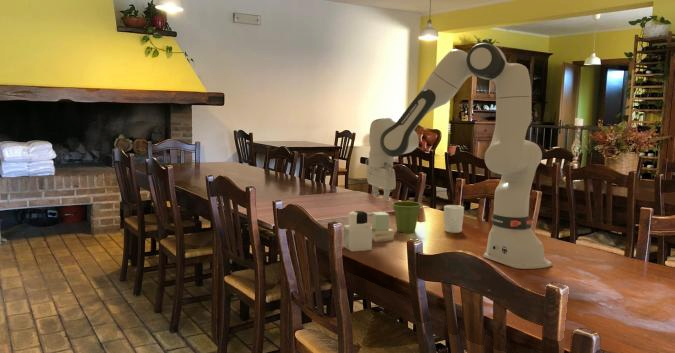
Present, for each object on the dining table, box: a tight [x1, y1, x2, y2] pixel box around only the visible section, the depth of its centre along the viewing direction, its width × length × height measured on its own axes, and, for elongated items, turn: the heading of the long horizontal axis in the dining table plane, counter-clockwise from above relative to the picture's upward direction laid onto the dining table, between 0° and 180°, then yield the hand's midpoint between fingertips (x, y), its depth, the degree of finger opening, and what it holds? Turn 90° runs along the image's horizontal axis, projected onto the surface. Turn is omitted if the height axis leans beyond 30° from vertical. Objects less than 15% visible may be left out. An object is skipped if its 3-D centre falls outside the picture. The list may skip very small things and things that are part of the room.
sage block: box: [371, 211, 390, 231], centre depth 201 cm, size 5×5×6 cm
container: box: [343, 210, 373, 252], centre depth 187 cm, size 8×8×13 cm
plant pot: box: [391, 200, 422, 234], centre depth 214 cm, size 12×12×11 cm
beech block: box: [369, 226, 395, 243], centre depth 202 cm, size 8×8×4 cm
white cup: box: [443, 204, 465, 234], centre depth 216 cm, size 8×8×10 cm
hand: (380, 198), depth 200 cm, fingers open, 8 cm apart
